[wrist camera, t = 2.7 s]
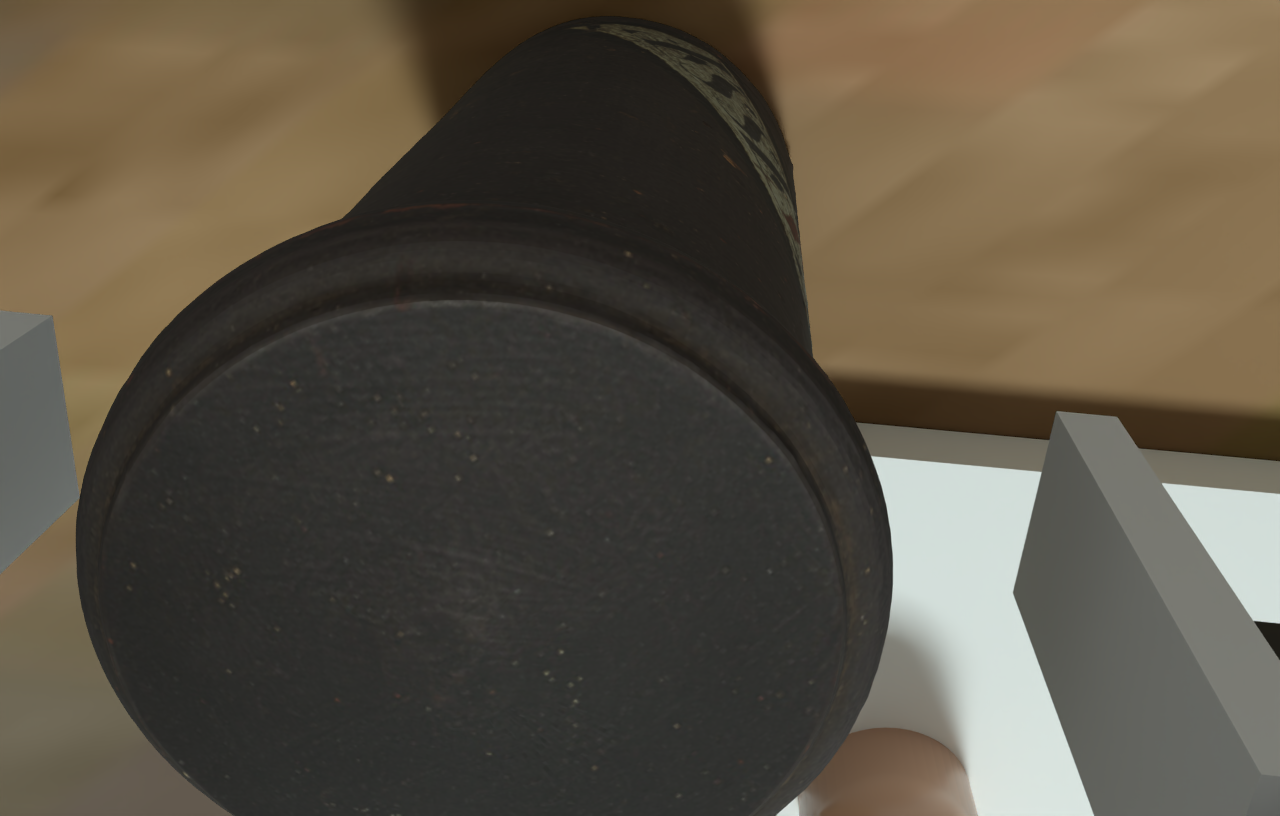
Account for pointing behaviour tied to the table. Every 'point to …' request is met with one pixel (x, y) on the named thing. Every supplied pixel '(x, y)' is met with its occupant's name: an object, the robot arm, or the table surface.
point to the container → (505, 475)
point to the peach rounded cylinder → (890, 778)
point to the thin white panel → (988, 613)
